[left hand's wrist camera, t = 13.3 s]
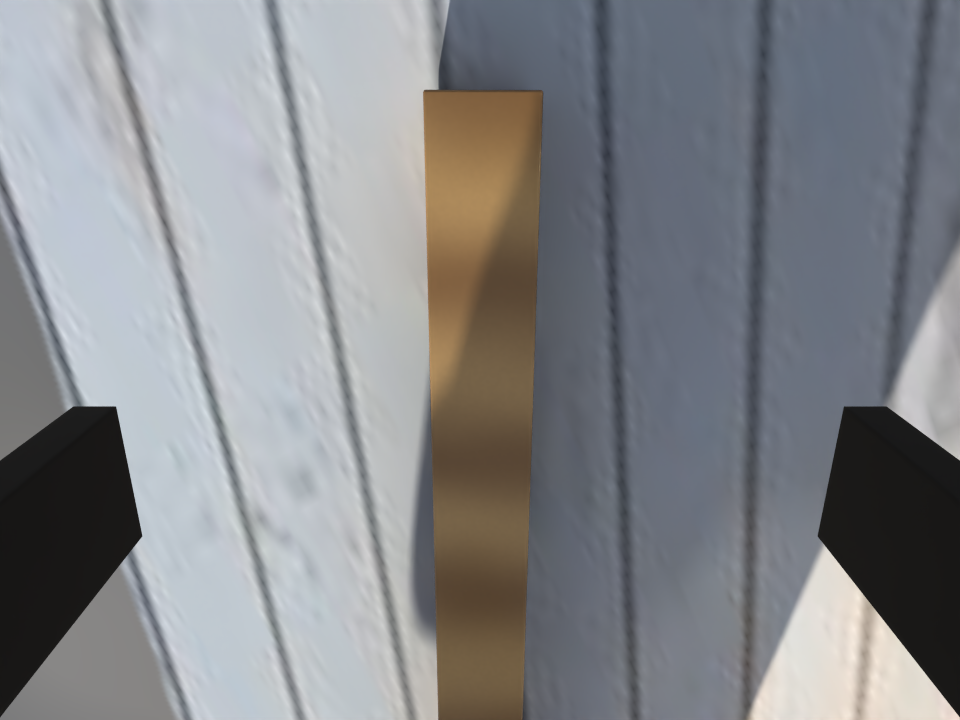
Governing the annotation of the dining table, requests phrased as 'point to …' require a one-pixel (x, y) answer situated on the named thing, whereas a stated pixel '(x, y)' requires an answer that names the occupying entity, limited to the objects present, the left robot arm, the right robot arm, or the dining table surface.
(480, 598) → the bar
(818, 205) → the dining table surface
